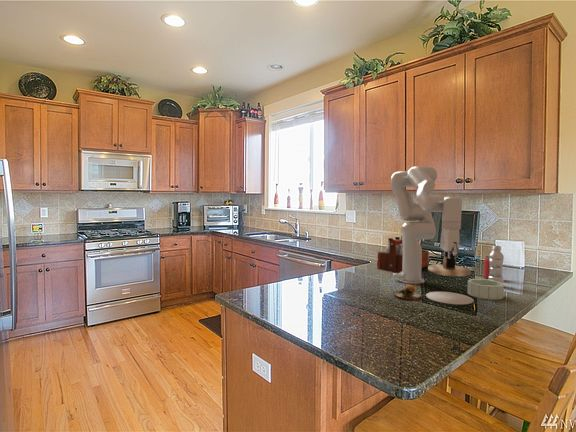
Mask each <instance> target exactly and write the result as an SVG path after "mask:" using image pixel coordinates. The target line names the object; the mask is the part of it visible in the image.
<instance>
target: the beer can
mask: <svg viewBox="0 0 576 432" xmlns="http://www.w3.org/2000/svg"><path fill="white" fill-rule="evenodd" d="M489 271H490V263H489V255H487V256H486V255H485V258H484V261H483V279H487V280H488V277H489Z"/></svg>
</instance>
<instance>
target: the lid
mask: <svg viewBox="0 0 576 432" xmlns="http://www.w3.org/2000/svg"><path fill="white" fill-rule="evenodd" d="M447 258H448V257H444V256H443V260H442V261H443V263H436V264H429V265H428V266H427V270H428V271H429V272H431V273H433V274H436V275H441V276H448V277H449V276H450V277H468V276H470V275H471V274H472V273H471V271H472V270H471V269H469V268H467V267H465V266H460V265H456V264H455V268H447ZM455 262H456V259H455Z"/></svg>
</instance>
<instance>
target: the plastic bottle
mask: <svg viewBox="0 0 576 432" xmlns="http://www.w3.org/2000/svg"><path fill="white" fill-rule="evenodd" d="M491 250H492V251H490V253H489V254H488V256H489V263H490V271H489V277H488V279H487V280H494V281H498V282H501V283H503V284H504V278H503V265H504V258H505V257H504V254H503V253H502V252H501V250H502V246H501V245H492V248H491Z"/></svg>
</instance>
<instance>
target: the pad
mask: <svg viewBox="0 0 576 432" xmlns="http://www.w3.org/2000/svg"><path fill="white" fill-rule="evenodd" d="M425 296H426V298H428V299H429V300H431V301H435V302H439V303H442V304H443V303H444V304H448V305H469V304H472V303H474V302H475V301H474V298H472V296H471V297H470V296H469V295H465V294H461V293H457V292H452V291H430V292H428V293H426V294H425Z"/></svg>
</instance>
